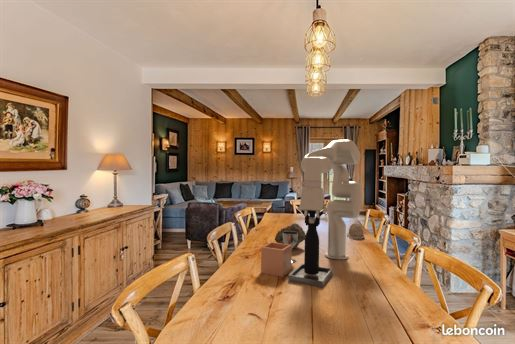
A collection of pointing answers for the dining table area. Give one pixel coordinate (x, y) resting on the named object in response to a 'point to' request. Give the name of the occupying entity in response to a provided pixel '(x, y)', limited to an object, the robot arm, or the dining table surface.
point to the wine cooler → (276, 258)
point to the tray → (310, 276)
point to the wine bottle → (311, 247)
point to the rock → (291, 228)
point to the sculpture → (355, 231)
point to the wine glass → (290, 239)
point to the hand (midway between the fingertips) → (312, 225)
